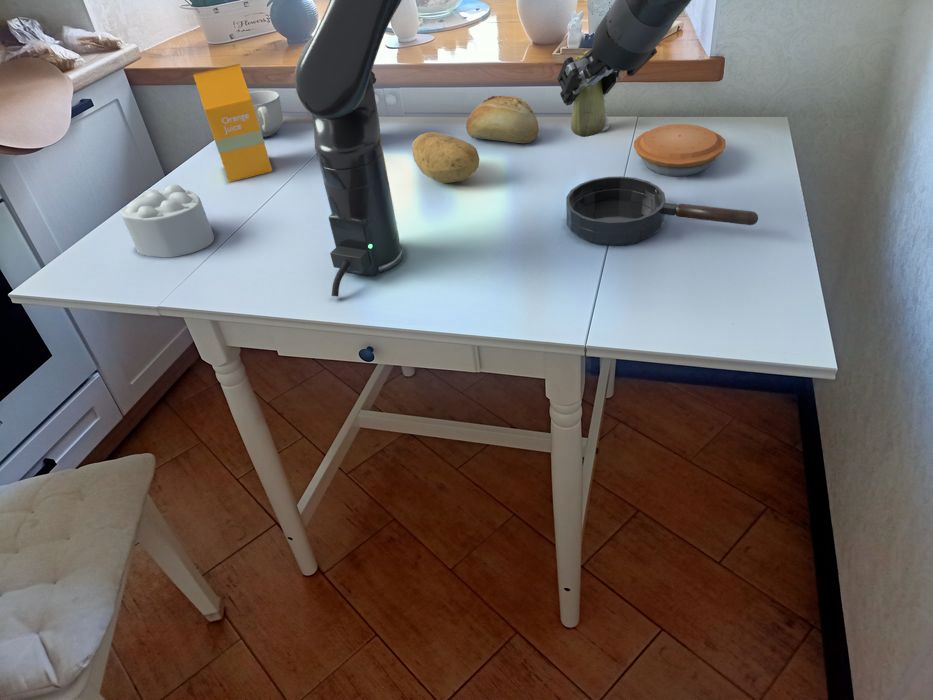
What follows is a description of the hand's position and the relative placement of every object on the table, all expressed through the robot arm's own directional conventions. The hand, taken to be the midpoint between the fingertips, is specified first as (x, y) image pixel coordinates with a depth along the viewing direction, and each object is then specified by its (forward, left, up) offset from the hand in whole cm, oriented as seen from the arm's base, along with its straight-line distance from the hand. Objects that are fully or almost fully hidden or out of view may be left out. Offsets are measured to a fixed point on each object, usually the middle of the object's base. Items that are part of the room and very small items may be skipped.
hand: (583, 94), depth 105 cm
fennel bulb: (-1, -1, -6) cm, 6 cm away
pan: (-2, -6, -19) cm, 20 cm away
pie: (+21, -11, -19) cm, 30 cm away
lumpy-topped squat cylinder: (-26, +64, -19) cm, 72 cm away
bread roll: (+25, +24, -19) cm, 40 cm away
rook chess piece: (+33, +7, -19) cm, 38 cm away
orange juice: (+1, +70, -19) cm, 73 cm away
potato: (+6, +27, -19) cm, 34 cm away
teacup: (+17, +78, -19) cm, 82 cm away
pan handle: (-2, -20, -17) cm, 26 cm away
